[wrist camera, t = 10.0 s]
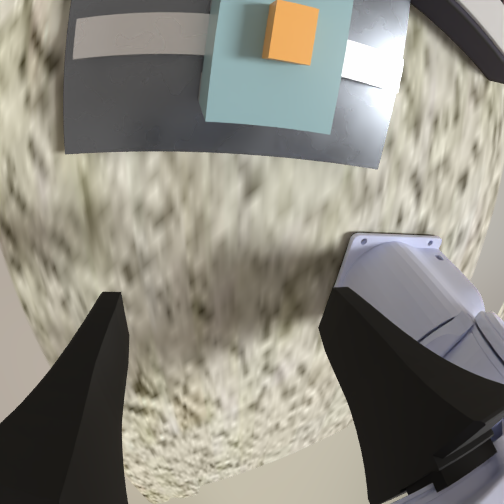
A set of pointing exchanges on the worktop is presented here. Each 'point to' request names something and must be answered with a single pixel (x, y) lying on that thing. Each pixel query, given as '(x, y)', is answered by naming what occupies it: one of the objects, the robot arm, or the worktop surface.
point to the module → (274, 62)
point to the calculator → (472, 30)
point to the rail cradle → (188, 81)
